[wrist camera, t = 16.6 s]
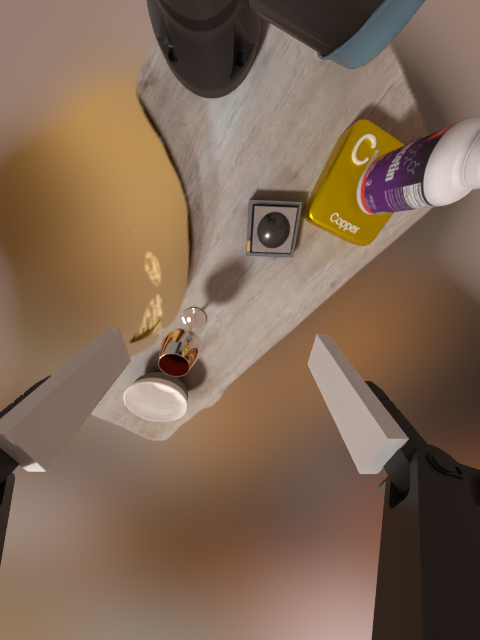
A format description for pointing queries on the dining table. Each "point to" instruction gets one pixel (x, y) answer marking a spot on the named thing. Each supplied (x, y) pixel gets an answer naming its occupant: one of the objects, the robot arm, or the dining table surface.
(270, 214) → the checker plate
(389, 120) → the dining table surface
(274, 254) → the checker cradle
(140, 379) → the bowl
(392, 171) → the pill bottle
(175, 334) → the wineglass
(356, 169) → the element tile
